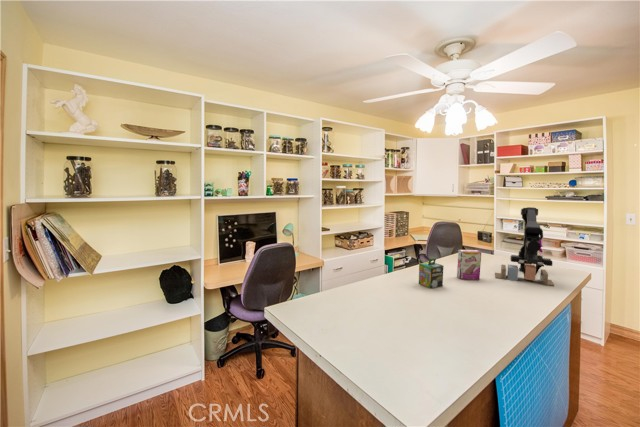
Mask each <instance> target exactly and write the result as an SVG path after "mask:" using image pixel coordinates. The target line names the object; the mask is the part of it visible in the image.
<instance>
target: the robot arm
mask: <svg viewBox="0 0 640 427" xmlns="http://www.w3.org/2000/svg"><path fill="white" fill-rule="evenodd" d="M538 215H539V208H537V207H534V206H533V207H531V206H530V207H529V206H527V207H523V208H521V209H520V216H521V219H522V220H523V222H524V225H523V226H524V227H523V229H524V230H523V243H522V244H523V245H522V246H521V247H520V248H519V251H518V255H516V254H511V255H510V258H509V259H510V262H512V263H517V264H518V265H520V266H519V267H518V271H520V272H522V273H523V276H524V275H525V264H534V265H535V267H536V275H537V274H538V272H539V270H541V269H542V267H545V266H547V267H552V266H553V261H552V259H551V258H545V257H543V255H541V254H540V255H539V254H538V252H539V251H540V250H541V248H542V245H541V243H539V240H540V241H541V240H543V238H544V231H543V229H542V228H541V225H540V223H538V222H537V216H538Z"/></svg>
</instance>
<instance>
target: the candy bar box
mask: <svg viewBox="0 0 640 427" xmlns="http://www.w3.org/2000/svg"><path fill="white" fill-rule="evenodd" d="M457 252H458V254H457V269H456V270H457V271H456V278H458V279H459V280H477V281H479V280H480V277H481V265H482V264H481V263H482V251H480V250H477V249H458V250H457Z"/></svg>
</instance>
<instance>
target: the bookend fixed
mask: <svg viewBox="0 0 640 427" xmlns="http://www.w3.org/2000/svg"><path fill="white" fill-rule="evenodd" d="M500 266H501V268H500V272H494V279H499V280H506V279H507V276H506V274H507V267H506V264H501V265H500Z"/></svg>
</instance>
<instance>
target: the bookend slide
mask: <svg viewBox="0 0 640 427" xmlns="http://www.w3.org/2000/svg"><path fill="white" fill-rule="evenodd" d="M539 280H540V282H541V284H542V285H543V286H549V287H555V284H554V282H553V280H552V279H549V273H548V271H547V270H546V269H544V268H540V277H539Z"/></svg>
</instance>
